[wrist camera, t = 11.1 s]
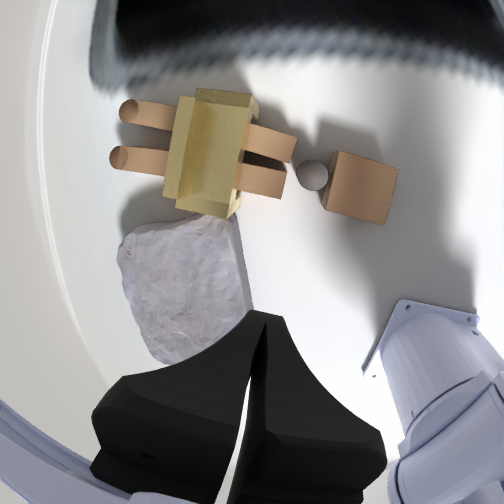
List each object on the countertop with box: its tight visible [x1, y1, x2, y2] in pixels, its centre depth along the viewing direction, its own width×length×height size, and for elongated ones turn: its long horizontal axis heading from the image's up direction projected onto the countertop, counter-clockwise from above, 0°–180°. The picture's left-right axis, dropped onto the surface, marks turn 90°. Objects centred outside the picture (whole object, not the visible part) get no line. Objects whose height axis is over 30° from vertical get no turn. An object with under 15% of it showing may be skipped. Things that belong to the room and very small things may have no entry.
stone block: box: [116, 213, 254, 365], centre depth 21 cm, size 12×5×10 cm
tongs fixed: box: [109, 146, 398, 226], centre depth 17 cm, size 18×4×2 cm, turn 79°
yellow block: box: [162, 88, 260, 219], centre depth 15 cm, size 3×7×6 cm, turn 169°
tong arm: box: [119, 99, 297, 163], centre depth 17 cm, size 12×2×2 cm, turn 73°
